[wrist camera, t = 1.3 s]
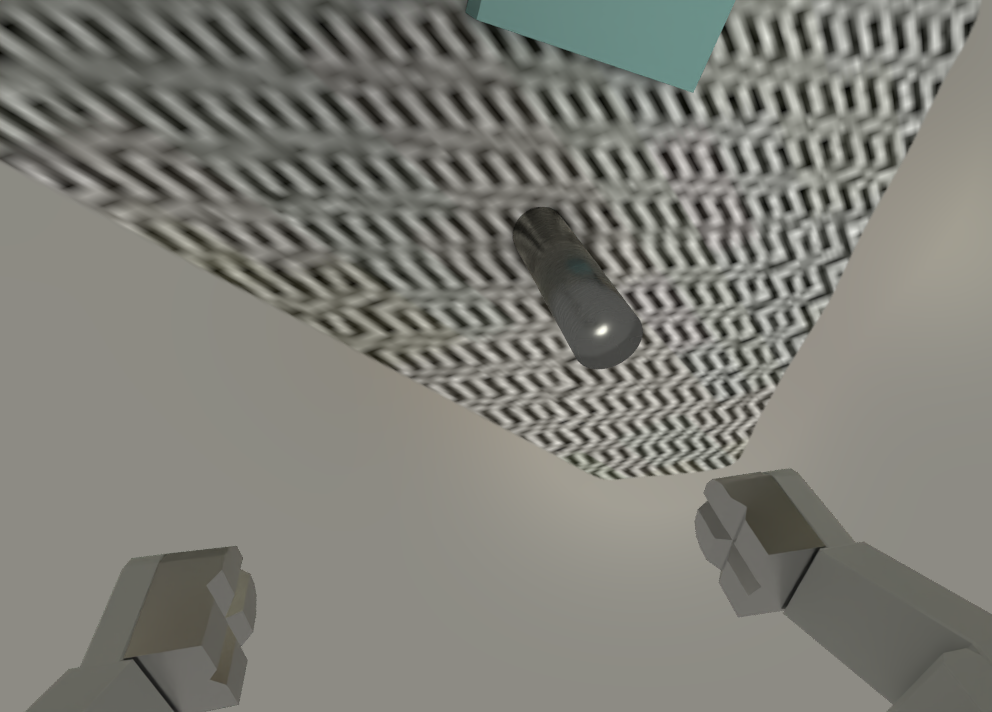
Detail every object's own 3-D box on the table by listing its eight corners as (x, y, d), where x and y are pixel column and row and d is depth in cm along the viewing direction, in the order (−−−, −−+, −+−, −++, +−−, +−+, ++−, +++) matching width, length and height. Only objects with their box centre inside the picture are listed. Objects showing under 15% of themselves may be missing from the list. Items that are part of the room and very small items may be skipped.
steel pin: (506, 252, 41) (562, 365, 30) (522, 202, 39) (590, 304, 28) (553, 260, 43) (624, 372, 32) (572, 213, 40) (654, 315, 30)
